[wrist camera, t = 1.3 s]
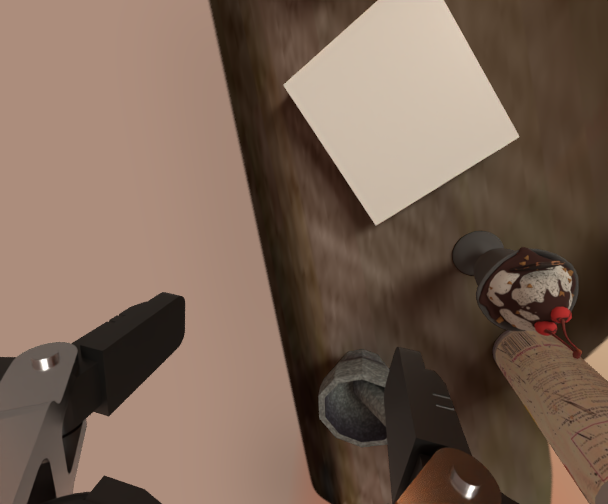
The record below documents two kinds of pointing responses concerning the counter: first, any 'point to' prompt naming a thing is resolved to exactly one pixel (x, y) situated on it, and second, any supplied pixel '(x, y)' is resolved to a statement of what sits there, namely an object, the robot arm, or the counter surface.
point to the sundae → (519, 285)
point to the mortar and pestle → (355, 399)
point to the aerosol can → (561, 404)
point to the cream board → (400, 104)
